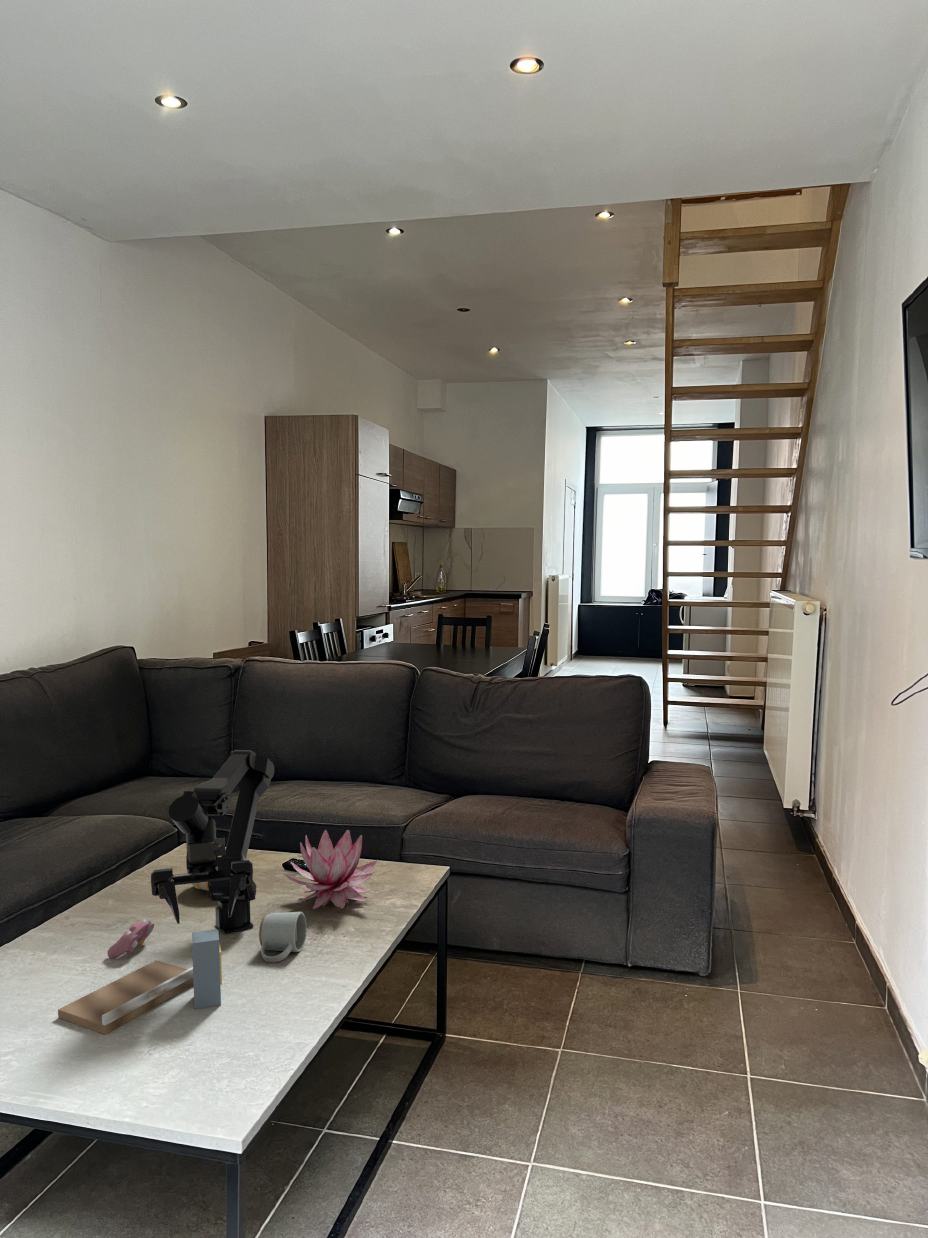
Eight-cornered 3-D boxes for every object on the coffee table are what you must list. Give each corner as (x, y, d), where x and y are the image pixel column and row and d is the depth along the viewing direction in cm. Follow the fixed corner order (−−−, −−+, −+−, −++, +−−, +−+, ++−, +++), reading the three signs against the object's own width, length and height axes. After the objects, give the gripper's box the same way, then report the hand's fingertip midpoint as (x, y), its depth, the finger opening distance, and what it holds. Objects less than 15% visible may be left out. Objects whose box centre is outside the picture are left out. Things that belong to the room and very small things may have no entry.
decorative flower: (267, 904, 209) (265, 840, 208) (337, 879, 225) (335, 820, 224) (328, 927, 195) (326, 859, 194) (397, 898, 211) (396, 835, 210)
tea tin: (194, 1009, 159) (192, 943, 159) (193, 996, 164) (191, 932, 163) (222, 1005, 161) (220, 939, 160) (221, 992, 165) (219, 929, 165)
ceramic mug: (270, 940, 188) (268, 905, 188) (307, 942, 187) (306, 906, 187) (251, 963, 178) (250, 926, 177) (291, 965, 177) (290, 927, 176)
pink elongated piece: (122, 968, 180) (135, 939, 179) (103, 957, 180) (116, 927, 179) (148, 948, 189) (161, 919, 188) (131, 937, 190) (143, 909, 189)
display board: (156, 967, 176) (155, 952, 176) (202, 981, 170) (201, 965, 170) (58, 1018, 157) (57, 1000, 157) (106, 1034, 151) (105, 1016, 151)
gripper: (149, 828, 169) (149, 907, 159) (251, 819, 174) (256, 894, 164) (152, 857, 177) (152, 933, 167) (249, 847, 182) (254, 920, 172)
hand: (204, 919), depth 167 cm, fingers open, 9 cm apart
